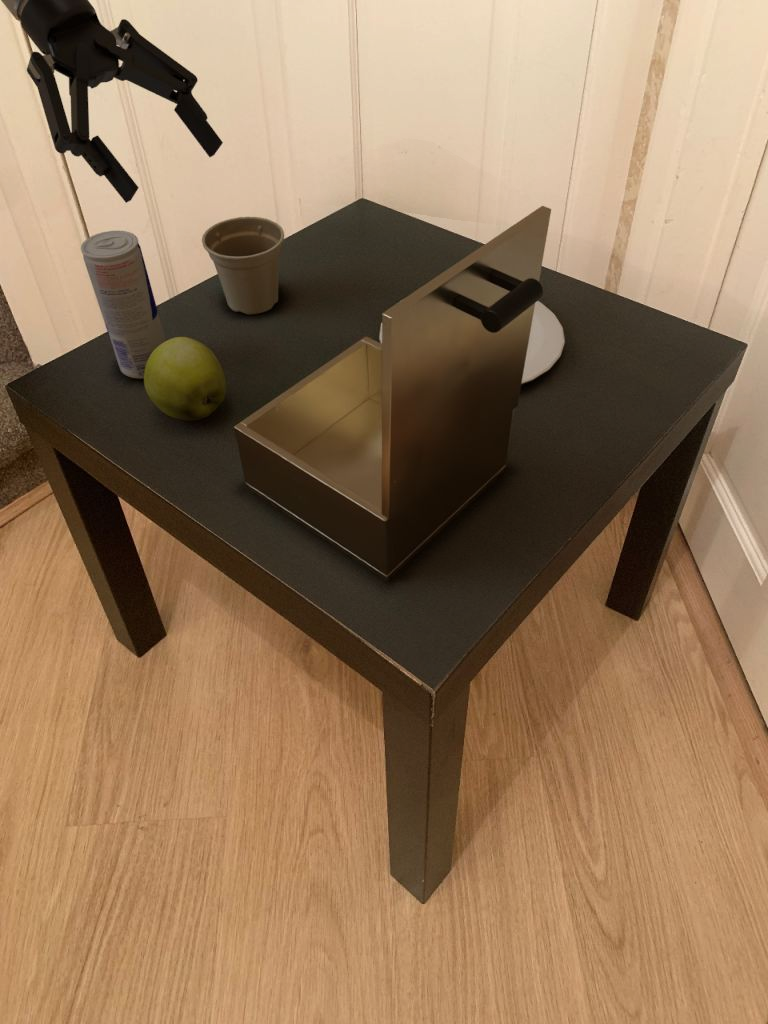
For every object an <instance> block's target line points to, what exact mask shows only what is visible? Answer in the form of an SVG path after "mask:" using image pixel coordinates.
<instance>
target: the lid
mask: <svg viewBox="0 0 768 1024" xmlns="http://www.w3.org/2000/svg"><path fill="white" fill-rule="evenodd" d="M551 214H552V209H551V208H550V207H548V206H545V205H541V206H540V207H538V208H536V209H535V210H533V211H532V212H531V213H529V214H528V215H526V216H524V217H523V218H522V219H520V220H519V221H517V222H516V223H514V224H513V225H511V226H510V227H508V228H507V229H505V230H504V231H502V232H501V233H499V234H498V235H497V236H495V237H493V238H492V239H490V240H489V241H488V242H486V243H485V244H483V245H481V246H480V247H478V248H477V249H475V250H474V251H473V252H472V253H470V254H468V255H467V256H465V257H463V259H461V260H460V261H458V262H456V263H455V264H454V265H451V267H449V268H448V269H446V270H444V271H443V272H442V273H440V274H439V275H437V276H436V277H434V278H432V280H429V281H428V282H427V283H425V284H423V285H422V286H420V287H419V288H418V289H416V290H415V291H413V292H412V293H411V294H409V295H407V296H406V297H404V298H403V299H401V300H402V301H401V300H400V301H399V302H397V303H395V304H394V305H393V306H391V307H389V308H388V309H387V310H385V311H384V312H382V314H381V323H382V509H381V514H382V515H383V516H385V517H386V518H388V519H390V518H391V517H392V516H393V515H394V514H395V513H397V512H398V511H399V510H400V509H401V508H402V507H403V506H404V505H406V504H407V503H408V502H409V501H410V500H411V499H412V498H414V497H415V496H416V495H417V494H418V493H419V492H420V491H421V490H423V489H424V488H425V487H426V486H427V485H428V484H429V483H431V482H432V481H433V480H434V479H435V478H436V477H437V476H439V475H440V474H441V473H442V472H443V471H444V470H445V469H446V468H448V467H449V466H450V465H451V464H452V463H453V462H454V461H456V460H457V459H458V458H459V457H460V456H461V455H462V454H464V453H465V452H466V451H467V450H468V449H469V448H470V447H471V446H473V445H474V444H475V443H476V442H477V441H478V440H479V439H481V438H482V437H483V436H484V435H485V434H486V433H487V432H488V431H490V430H491V429H492V428H493V427H494V426H495V425H496V424H498V423H499V422H500V421H501V420H502V419H503V418H504V417H506V416H507V415H508V414H509V413H510V412H511V411H512V410H513V411H514V410H515V409H516V408H517V407H518V405H519V401H520V400H519V399H520V394H521V388H522V385H521V383H522V377H523V371H524V366H525V360H526V354H527V348H528V342H529V336H530V331H531V325H532V319H533V313H534V307H535V303H536V302H537V301H539V300H541V299H542V298H543V295H544V289H543V286H542V284H541V282H540V277H541V273H542V267H543V260H544V255H545V248H546V243H547V236H548V231H549V225H550V219H551Z"/></svg>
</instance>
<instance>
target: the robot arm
mask: <svg viewBox="0 0 768 1024" xmlns="http://www.w3.org/2000/svg"><path fill="white" fill-rule="evenodd" d="M0 1H1V3H2V4H3V5H4V6H5V7H6V9H7V10H8V11H9V13H10V14H11V15H12V16H13V18H14V19H15V20H16V21H18V22H20V26H21V28H22V30H23V31H24V32H25V34H27V36H28V37H29V39H30V40H31V41H32V42H33V44H34V45H35V46H36V48H37V49H38V50H39V51H40V52H39V51H32V53H31V54H30V58H29V61H28V63H27V67H26V72H27V74H28V75H29V77H30V78H31V80H32V82H33V83H34V85H35V87H37V91H38V94H39V97H40V102H41V105H42V108H43V112H44V116H45V118H46V122H47V125H48V129H49V133H50V136H51V139H52V143H53V147H54V149H55V151H56V152H57V153H59V154H61V155H62V154H66V152H70V154H71V155H72V156H74V157H77V158H78V157H82V158H83V160H84V161H85V162H86V163H87V165H88V166H89V167H90V169H91V170H92V171H93V172H94V173H95V175H96V176H98V177H100V178H101V177H103V176H104V178H106V179H107V181H108V182H109V183H110V185H111V186H112V187H113V189H114V190H115V191H116V193H118V195H119V196H120V197H121V199H122V200H123V202H125V204H126V203H129V202H130V201H132V199H133V198H134V197H135V194H136V193H137V192H138V190H139V186H138V185H137V183H136V182H135V180H133V178H132V177H131V175H130V174H129V173H128V172H127V171H126V169H125V168H124V167H123V165H122V164H121V163H120V161H119V160H118V159H117V158H116V157H115V155H114V154H113V152H112V151H111V150H110V149H109V147H108V146H107V145H106V144H105V142H104V141H103V140H102V139H101V137H100V135H95V136H93V137H91V139H90V115H89V114H90V112H89V110H90V108H89V88H90V89H96V88H98V87H99V85H100V84H102V83H109V82H111V81H113V80H114V79H116V80H119V81H121V82H124V81H128V82H129V83H132V84H134V85H136V86H138V87H140V88H142V89H144V90H147V91H148V92H151V93H152V94H154V95H156V96H159V97H160V98H163V99H165V100H168V101H170V102H171V103H174V104H176V106H175V108H174V109H173V111H174V112H175V113H176V114H177V117H178V118H179V119H180V120H181V122H182V123H183V124H184V125H185V127H186V128H187V129H188V130H189V132H190V133H191V134H192V136H193V137H194V139H195V140H196V141H197V143H198V145H200V147H201V148H202V150H203V151H204V152H205V153H206V155H207V156H208V157H209V158H212V157H214V156H215V155H216V153H217V152H218V151H219V149H220V148H221V147H222V145H223V143H224V142H223V140H222V139H221V138H220V137H219V135H218V134H217V132H216V131H215V130H214V128H213V127H212V125H210V123H209V122H208V114H207V113H206V111H205V110H204V109H203V108H202V106H201V105H200V103H199V102H198V101H197V99H196V98H195V97H194V95H193V90H194V89H195V86H196V85H197V83H198V80H199V79H198V77H197V76H196V75H195V74H194V73H193V72H191V71H190V70H189V69H187V68H186V67H185V66H183V65H182V64H181V63H179V61H177V60H175V59H174V58H173V57H171V56H170V55H169V54H167V53H166V52H165V51H163V50H162V49H160V48H159V47H158V46H156V45H155V44H154V43H152V42H151V41H149V40H148V39H147V38H145V37H144V36H143V35H141V34H140V33H139V31H138V30H137V29H136V28H135V26H133V24H131V22H130V21H129V20H128V19H125V18H122V19H120V21H119V23H118V26H117V27H115V28H114V29H111V30H109V29H108V28H106V27H105V26H104V25H103V24H102V23H101V21H100V19H99V17H98V14H97V11H96V9H95V7H94V6H93V4H92V3H91V2H90V0H0ZM42 54H43V55H42ZM120 62H122V63H121V65H120ZM55 71H56V72H57V73H59V74H61V75H63V76H65V77H66V78H68V93H69V94H68V95H69V96H70V124H69V121H68V118H67V115H66V111H65V107H64V105H63V99H62V97H61V94H60V90H59V87H58V83H57V79H56V76H55V74H54V73H55ZM70 125H71V126H70ZM70 127H71V128H70Z"/></svg>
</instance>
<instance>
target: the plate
mask: <svg viewBox="0 0 768 1024" xmlns="http://www.w3.org/2000/svg"><path fill="white" fill-rule="evenodd" d="M402 300H403V299H401V300H400V301H402ZM378 339H379V343H381V344H382V322H381V323H380V328H379V336H378ZM565 339H566V338H565V333H564V328H563V326H562V324H561V322H560V321H559V319H558V317H557V316H556V315H555V313H554V312H552V311H551V309H549V308H548V307H547V306H546V305H544V303H542V302H541V301H539V300H538V301H537V302H536V303H535V307H534V313H533V319H532V325H531V331H530V336H529V342H528V348H527V354H526V360H525V366H524V371H523V377H522V383H521V386H522V385H525V384H528V383H530V382H533V381H535V380H537V378H539V377H541V376H542V375H544V374H545V373H547V372H549V371H550V370H551V369H552V368H553V366H554V365H555V364H556V363H558V362H557V361H559V359H560V358H561V356H562V353H563V349H564V346H565V343H566V340H565Z"/></svg>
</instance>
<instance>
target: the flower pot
mask: <svg viewBox="0 0 768 1024" xmlns="http://www.w3.org/2000/svg"><path fill="white" fill-rule="evenodd" d="M284 240H285V232H284V229H283V228H282V226H281V225H280V224H279V223H277V222H275V221H273V220H271V219H268V218H264V217H260V216H259V217H258V216H239V217H233V218H229V219H225V220H222V221H219V222H217V223H215V224H213V225H212V226H210V227H208V228H207V230H205V231H204V233H203V234H202V237H201V243H202V247H203V248H204V250H205V251H206V252H207V253H208V256H209V258H210V260H212V262H213V265H214V268H215V270H216V273H217V276H218V279H219V282H220V285H221V287H222V291H223V294H224V297H225V300H226V303H227V306H228V307H229V308H230V309H231V310H232V311H234V312H236V313H237V312H241V313H242V314H245V315H258V314H262V313H265V312H268V311H270V310H272V308H273V307H274V305H275V304H276V303H278V302H279V277H280V276H279V271H280V253H281V251H282V245H283V242H284Z"/></svg>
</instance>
